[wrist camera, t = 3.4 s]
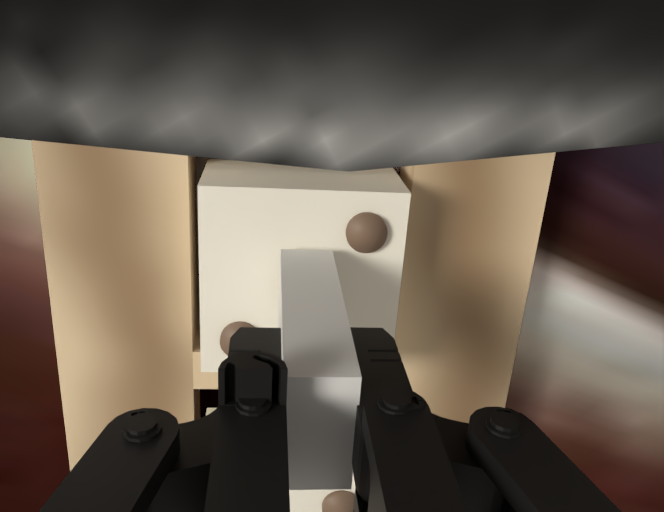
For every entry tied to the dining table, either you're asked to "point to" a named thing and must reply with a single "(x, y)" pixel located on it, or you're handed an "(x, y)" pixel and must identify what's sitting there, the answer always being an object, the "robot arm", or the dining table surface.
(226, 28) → the spotted tube
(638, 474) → the dining table surface
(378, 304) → the three pip tile
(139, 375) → the button board
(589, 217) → the dining table surface
